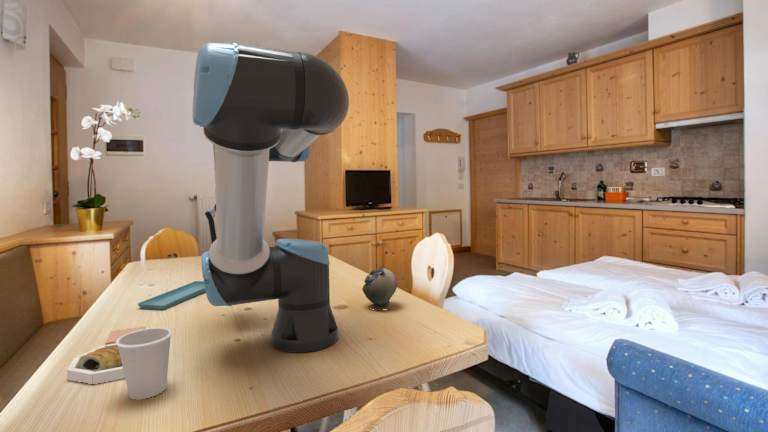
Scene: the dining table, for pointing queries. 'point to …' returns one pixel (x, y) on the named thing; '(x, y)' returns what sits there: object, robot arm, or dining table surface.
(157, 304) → the teal serving tray
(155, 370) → the dixie cup
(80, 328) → the dining table surface
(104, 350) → the pastry
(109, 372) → the dish rim
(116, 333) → the tile
